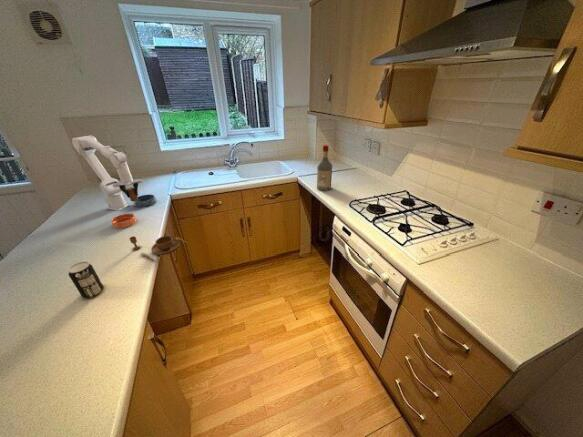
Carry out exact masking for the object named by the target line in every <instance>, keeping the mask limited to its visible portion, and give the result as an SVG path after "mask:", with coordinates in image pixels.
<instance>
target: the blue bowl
mask: <svg viewBox="0 0 583 437" xmlns="http://www.w3.org/2000/svg"><path fill="white" fill-rule="evenodd" d="M137 197H138V200H137V201H133V204H134V206H135V207H137V208H146V207H149V206H152V205H154V204H155V203H156V202H157V200H156V196H155V195H154V194H151V193H150V194H149V193H148V194H142V195H138V196H137Z"/></svg>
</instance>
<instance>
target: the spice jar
mask: <svg viewBox="0 0 583 437" xmlns="http://www.w3.org/2000/svg"><path fill="white" fill-rule="evenodd" d="M126 189H127V193H128V195H129V200H130V202H134V201H137V200H138V197H139V196H137V195H136V192H135V189H134V187H133V186H132V187H128V188H127V187H126Z"/></svg>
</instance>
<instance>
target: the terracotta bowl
mask: <svg viewBox="0 0 583 437" xmlns="http://www.w3.org/2000/svg"><path fill="white" fill-rule="evenodd" d="M137 222H138V221H137V218H136V215H135V214H134V213H130V212H129V213H123V214H119V215H117V216H115V217H112V219H111V220H110V223H111V226H112V227H113V229H116V230H121V229H126V228H129V227H132V226H134V225H135V224H136V223H137Z"/></svg>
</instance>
